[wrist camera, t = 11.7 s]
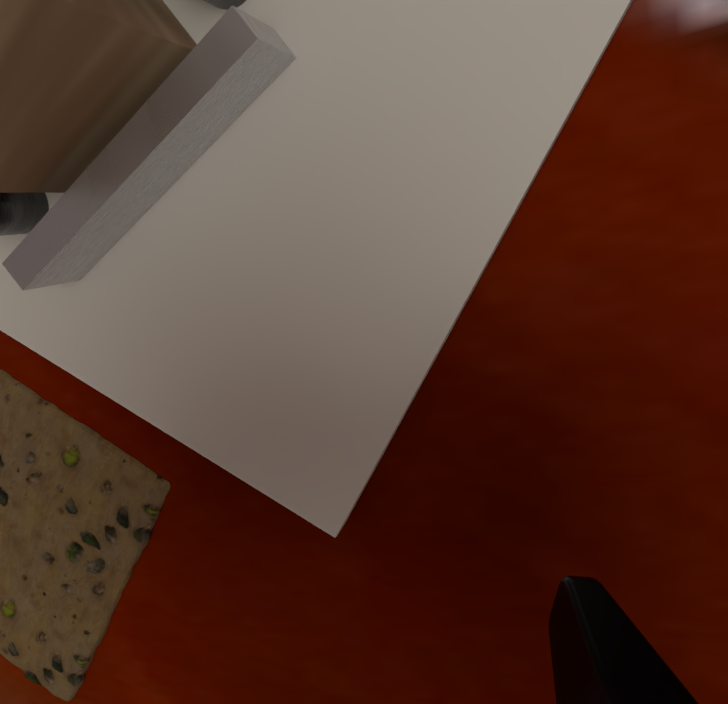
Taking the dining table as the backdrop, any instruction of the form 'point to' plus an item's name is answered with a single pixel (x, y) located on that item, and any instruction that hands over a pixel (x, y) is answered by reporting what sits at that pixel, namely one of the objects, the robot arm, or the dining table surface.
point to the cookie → (64, 536)
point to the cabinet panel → (323, 235)
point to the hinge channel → (145, 153)
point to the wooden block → (76, 81)
